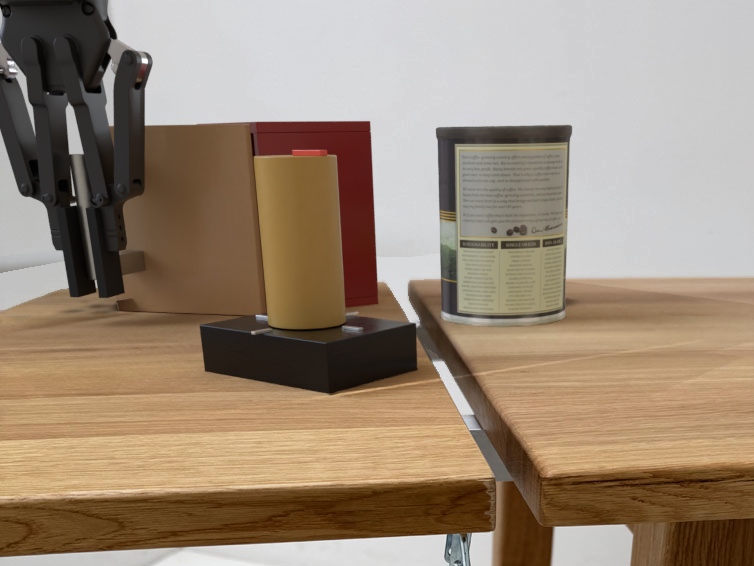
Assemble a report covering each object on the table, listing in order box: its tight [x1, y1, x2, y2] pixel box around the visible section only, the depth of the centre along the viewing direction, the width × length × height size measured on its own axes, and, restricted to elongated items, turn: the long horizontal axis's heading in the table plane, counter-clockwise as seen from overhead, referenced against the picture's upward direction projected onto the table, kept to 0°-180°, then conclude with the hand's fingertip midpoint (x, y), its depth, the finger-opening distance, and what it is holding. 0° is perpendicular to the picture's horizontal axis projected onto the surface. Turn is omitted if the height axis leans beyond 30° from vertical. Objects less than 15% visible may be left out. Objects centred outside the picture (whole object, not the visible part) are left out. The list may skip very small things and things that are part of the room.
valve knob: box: [254, 150, 347, 329], centre depth 61 cm, size 5×5×10 cm
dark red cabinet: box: [195, 120, 379, 312], centre depth 89 cm, size 10×14×15 cm
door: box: [69, 123, 267, 317], centre depth 81 cm, size 7×14×14 cm, turn 74°
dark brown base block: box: [199, 310, 418, 396], centre depth 64 cm, size 11×9×3 cm
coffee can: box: [435, 124, 573, 328], centre depth 80 cm, size 10×10×14 cm
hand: (97, 294), depth 81 cm, fingers closed on door, 2 cm apart
